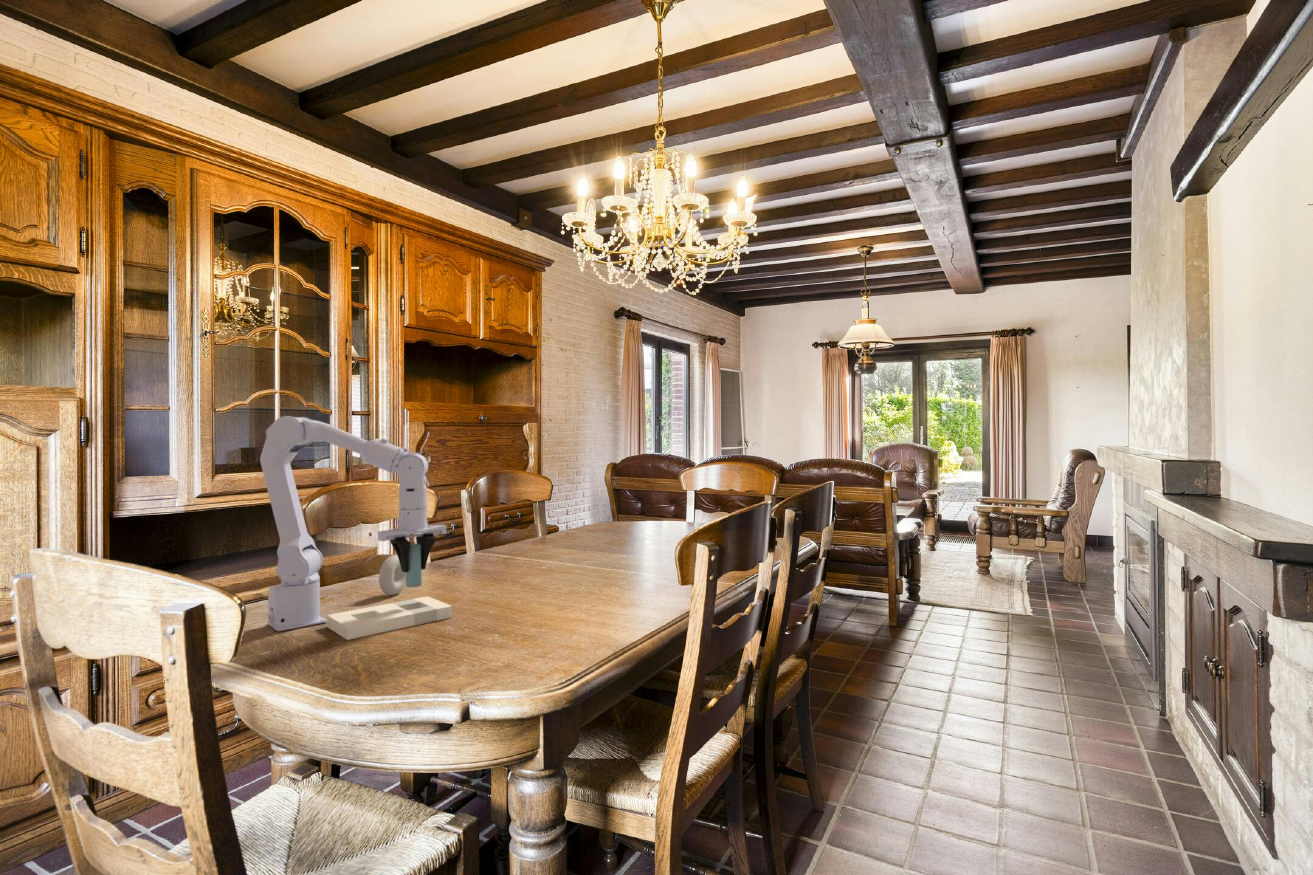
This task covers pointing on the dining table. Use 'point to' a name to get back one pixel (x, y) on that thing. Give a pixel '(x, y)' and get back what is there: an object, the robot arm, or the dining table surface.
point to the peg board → (388, 617)
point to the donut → (389, 571)
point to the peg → (414, 566)
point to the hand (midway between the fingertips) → (413, 570)
